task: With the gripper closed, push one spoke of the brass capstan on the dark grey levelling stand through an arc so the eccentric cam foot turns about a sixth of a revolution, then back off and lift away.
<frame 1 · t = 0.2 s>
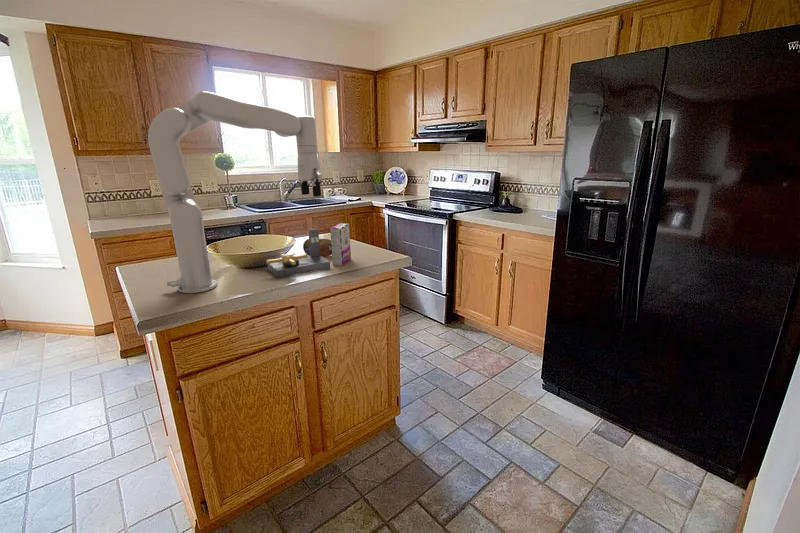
hand: (311, 195, 150), 30 cm above the countertop, tool pointing down, fingers open, 9 cm apart
tin: (319, 256, 177), on the countertop
candy bar box: (341, 262, 166), on the countertop
stand: (299, 268, 157), on the countertop
capstan: (287, 259, 151), point 5 cm above the countertop, hinge at 0.0°
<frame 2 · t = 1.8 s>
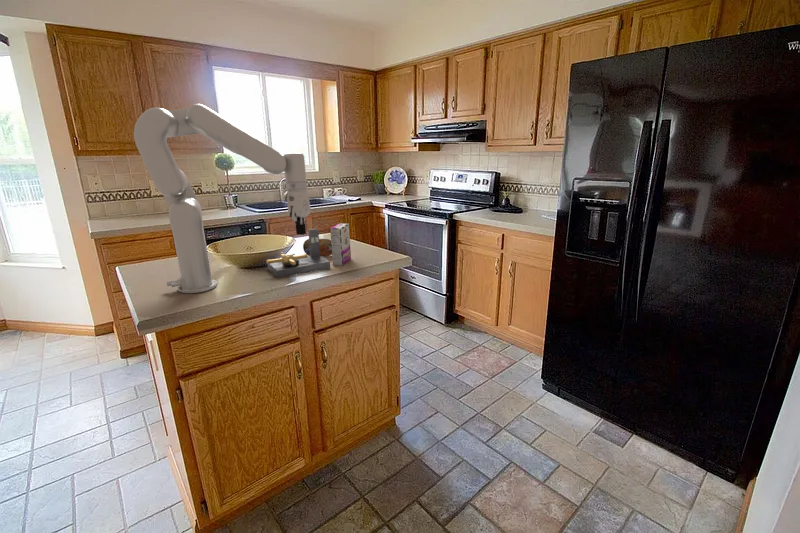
hand: (301, 234, 147), 16 cm above the countertop, tool pointing down, fingers closed
nothing on the countertop moved.
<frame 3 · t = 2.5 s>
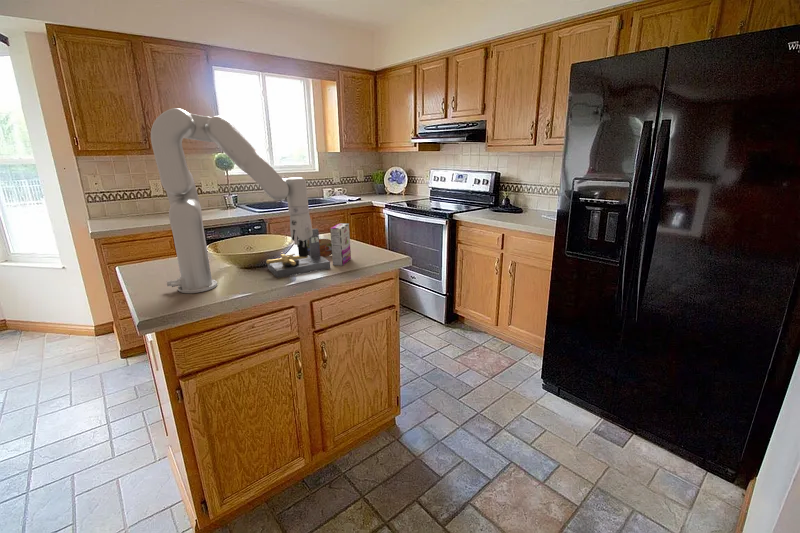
hand: (303, 256, 150), 7 cm above the countertop, tool pointing down, fingers closed
nothing on the countertop moved.
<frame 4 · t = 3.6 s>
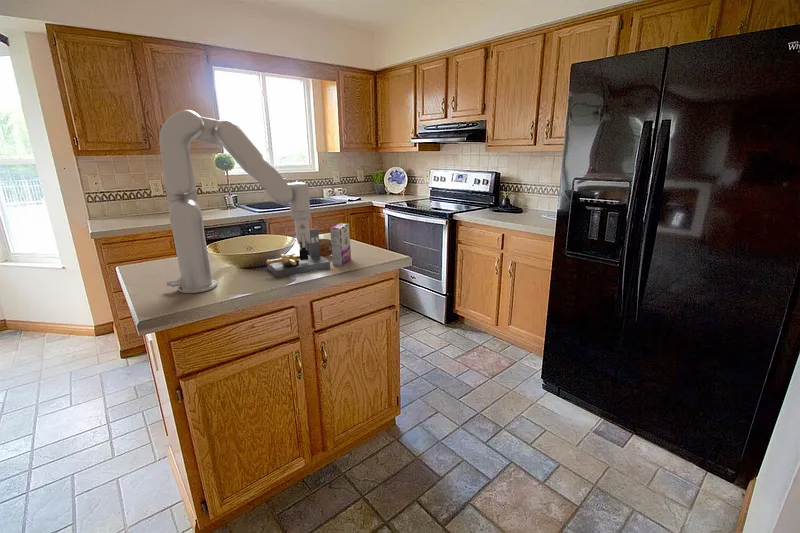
hand: (304, 259, 153), 5 cm above the countertop, tool pointing down, fingers closed
capstan: (287, 259, 151), point 5 cm above the countertop, hinge at 2.1°, touching gripper
everything else where it was.
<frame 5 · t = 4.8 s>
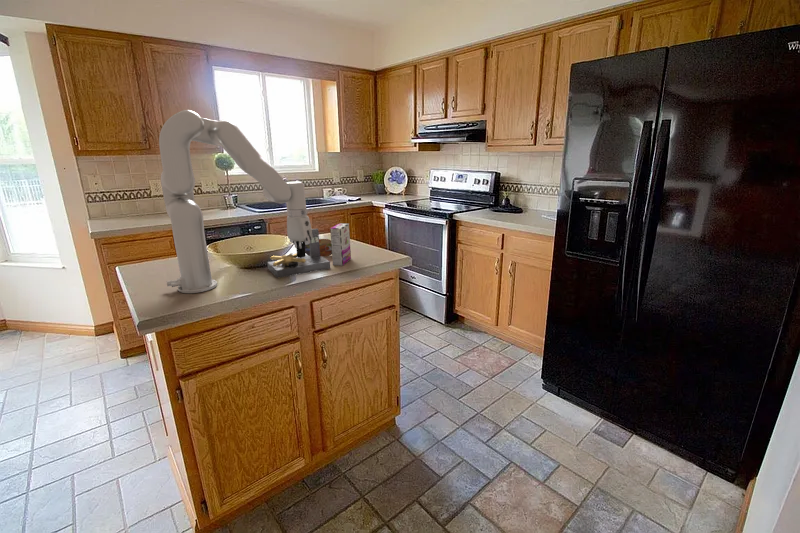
hand: (301, 256, 157), 5 cm above the countertop, tool pointing down, fingers closed
capstan: (287, 259, 151), point 5 cm above the countertop, hinge at 36.6°, touching gripper
everything else where it was.
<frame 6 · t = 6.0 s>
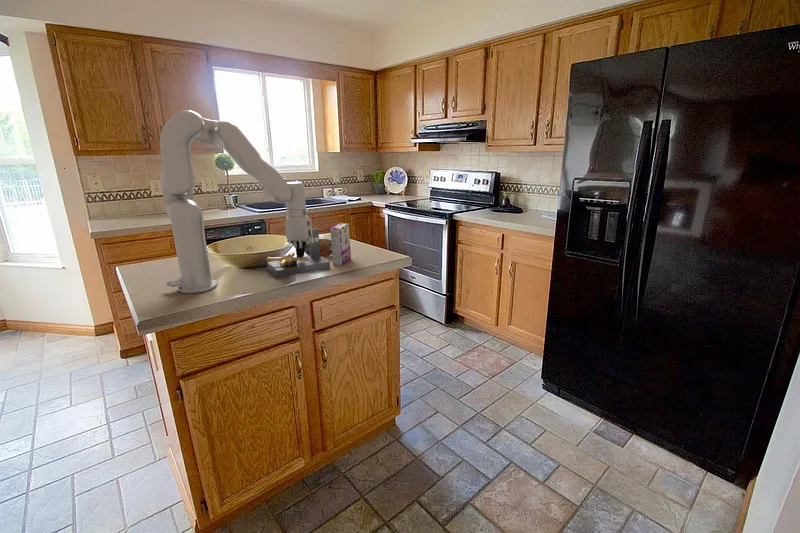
hand: (300, 256, 157), 5 cm above the countertop, tool pointing down, fingers closed
capstan: (287, 259, 151), point 5 cm above the countertop, hinge at 57.5°
everything else where it was.
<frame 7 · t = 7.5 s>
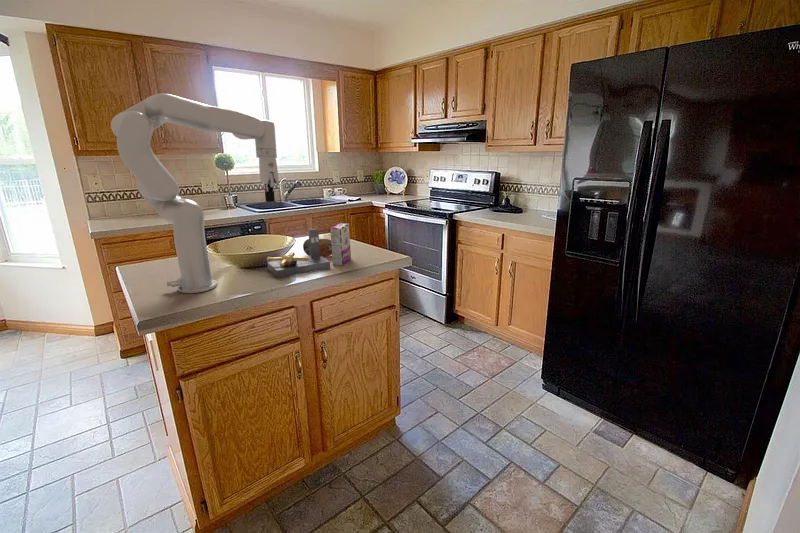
hand: (270, 201, 151), 28 cm above the countertop, tool pointing down, fingers closed
nothing on the countertop moved.
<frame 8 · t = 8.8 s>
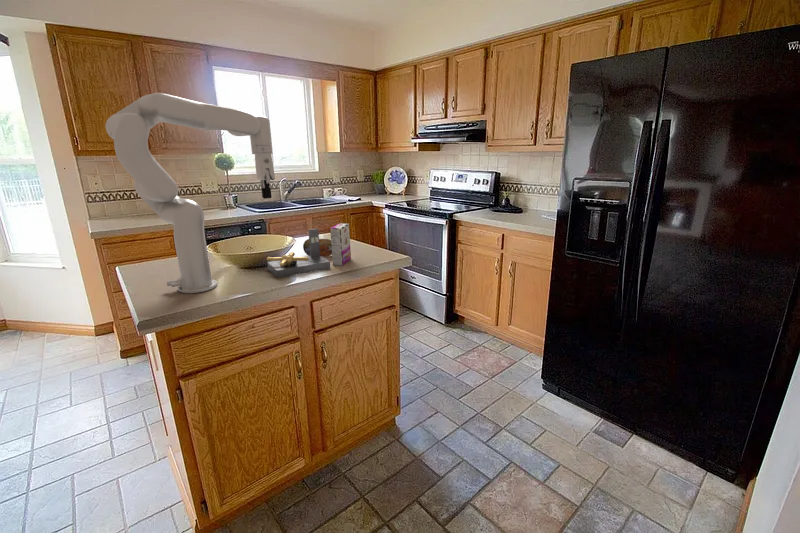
hand: (267, 198, 151), 29 cm above the countertop, tool pointing down, fingers closed
nothing on the countertop moved.
at the end: capstan at +58° (first picture: +0°) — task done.
